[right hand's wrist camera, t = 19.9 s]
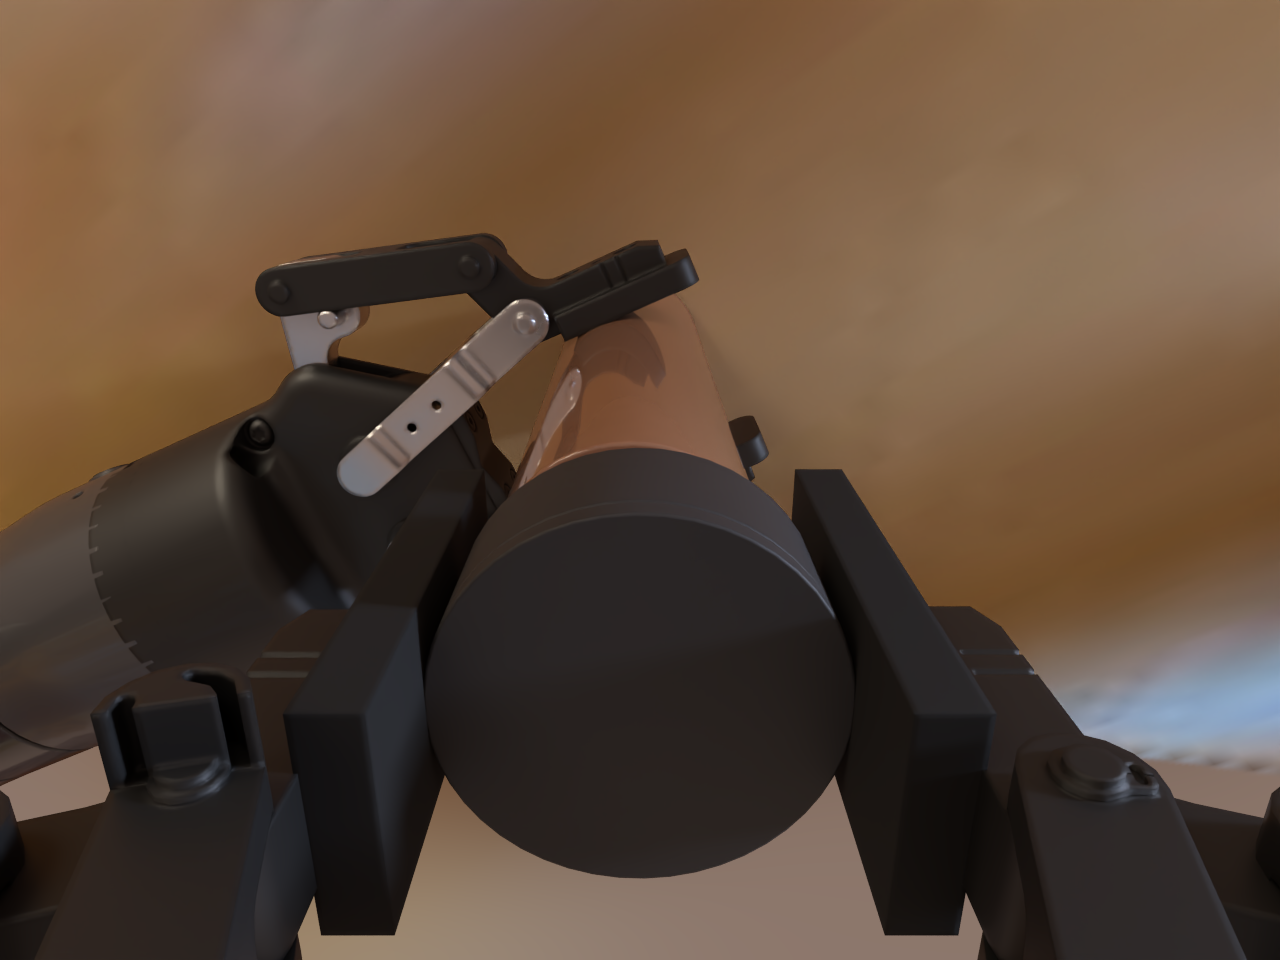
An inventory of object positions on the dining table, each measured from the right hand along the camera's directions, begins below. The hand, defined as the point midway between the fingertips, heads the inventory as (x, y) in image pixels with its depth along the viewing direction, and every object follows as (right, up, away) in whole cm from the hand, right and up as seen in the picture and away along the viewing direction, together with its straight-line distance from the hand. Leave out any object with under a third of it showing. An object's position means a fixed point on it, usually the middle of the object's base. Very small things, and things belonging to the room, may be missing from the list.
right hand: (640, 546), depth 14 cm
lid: (0, -1, -4) cm, 4 cm away
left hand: (+2, +5, +9) cm, 10 cm away
